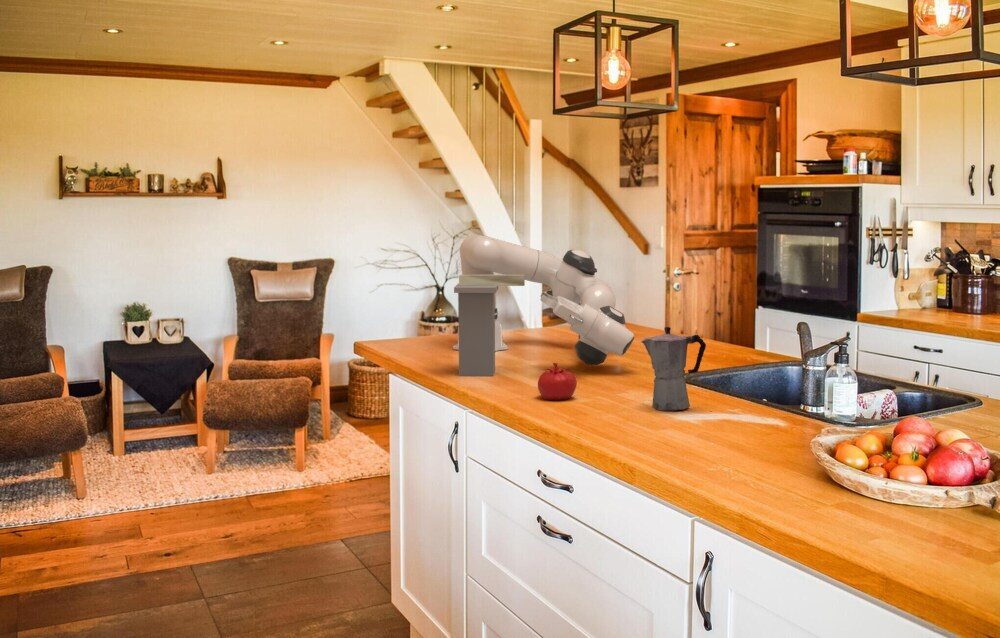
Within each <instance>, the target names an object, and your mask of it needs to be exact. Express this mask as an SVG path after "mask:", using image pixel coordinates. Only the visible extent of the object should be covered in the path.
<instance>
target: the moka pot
mask: <svg viewBox="0 0 1000 638" xmlns="http://www.w3.org/2000/svg"><path fill="white" fill-rule="evenodd" d="M663 329H664V332H665V333H663V334H660V335H655V336H651V337H645V338H644V339H642V340H641V341H640V342H641V343H642V344H643V345H644V347H645V349H646V351H647V354H648V356H649V358H650V360H651V361H650V362H651V366H652V369H653V370H654V373H653V374H654V377H655V378H654V379H653V383H654V384H653V393H652V394H653V395H652V408H653V409H654V408H655V410H658V411H667V412H668V411H669V412H670V411H680V410H687V409H688V408H689V407H690V406H691V405H690V399H689V395H688V389H687V383H686V377H685V374H686V370H685V368H686V366H687V356H688V355H687V354H688V345H689V344H690V345H691V344H694V343H699V345H700V346H699V350H698V353H697V357H696V362H695V365H694V368H691V369H688V370H687V373H688V374H695V373H698V372H699V369H700V365H701V362H702V358H703V356H704V353H705V350H706V346H707V345H706V344H707V343H706V342H705V341H704V340H703V338H701V336H700V335H699V334H694V335H683V336H682V335H678V334H674V333H671V330H672V328H671V327H670V326H666V327H664V328H663Z"/></svg>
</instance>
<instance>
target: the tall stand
mask: <svg viewBox="0 0 1000 638" xmlns="http://www.w3.org/2000/svg"><path fill="white" fill-rule="evenodd" d="M498 290H499V286H459V282H458V283H457V284H456V285H455V286H454V287H453V293H454V294H457V300H458V301H457V303H458V304H457V305H458V308H457V309H458V310H457V311H458V318H457V319H458V320H457V321H458V326H459V350H458V376H459V377H494V375H495V371H496V351H495V293H496V294H497V291H498Z"/></svg>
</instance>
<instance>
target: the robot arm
mask: <svg viewBox="0 0 1000 638" xmlns="http://www.w3.org/2000/svg"><path fill="white" fill-rule="evenodd" d="M459 254H460V255H459V256H460V266H461V267H460V268H461V275H495V274H498V275H525V281H527V282H532V283H535V284H536V283H537V284H543V285H547V286H548V287H549V288H550V290H547V291H546V292H545V291H542V292H541V294H540V302H541V303H543V304H545V305H546V306H548V307H549V308H550V309H552V313H553V315H555V316H557V317H559V318H561V320H564V321H566V324H568V325H570V328H569V330H570V331H572V332H573V333H575V334H577V335H578V340H577V341H576V343H575V345H574V350H575V353H576V356H577V358H578V359H580V361H582V362H583V363H585V364H587V365H589V366H597V365H600V364H603V363H605V360H606V359H607V356H608V354H609V353H611V354H613V355H617V356H621V357H622V356H624V355H625V354H626V353H627V351H628V350H629V348H630V346H631V345H632V344H633V342H634V341H635V334H634V333H633V332H632V331H630V329H628V328H627V326H626V319H625V314H624V313H623V312H621V311H619V310H617V309H616V304H617V303H616V302H617V300H616V295H615V294H614V291H613V290H612V288H611V286H610V285H609V284H608V283H607V282H605V281H604V280H602V279H599V278H597V277H596V276H595V274H596V273H598V268H596V265H595V261H594V259H593V257H592V256H591V255H589V254H588V253H587V252H585V251H584V250H580V249H570V250H567V251H566V253H565V254H564V255H563V257H562V260H561V258H559V257H557V256H555V255H553V254H550V253H547V252H545V251H542V250H538V249H534V248H531V247H527V246H524V245H519V244H516V243H512V242H509V241H505V240H502V239H498V238H494V237H491V236H486V235H480V234H472V235H471V234H470V235H469V236H467V237H466V238H465V239H463V240H462V241H461V243H460V246H459ZM494 273H495V274H494ZM498 314H499V312H498V308H497V292H496V293H495V352H498V351H504V350H508V349H509V347H508V345H507V344H506V343H505V342H504V341H503V338H504V336H503V330H502V329H503V328H502V324H501V322H499V321H498V318H499V317H498ZM457 327H458V329H457V331H458V332H457V343H456V344H454V345H453V346H452V350H456V351H457V350H458V351H459V325H458V326H457Z"/></svg>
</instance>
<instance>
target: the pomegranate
mask: <svg viewBox="0 0 1000 638" xmlns="http://www.w3.org/2000/svg"><path fill="white" fill-rule="evenodd" d="M552 364H553V367H554V368H552V367H549V368H546V369H544V371H545V372H542V374H541V375H540V376H539V378H538V381H537V389H538V393H539V394H540V396H541V397H542V398H543V399H545V400H547V401H560V400H561V401H562V400H569V399H570V398H572V396H573V395H574V393H575V392H576V390H577V384H578V379H576V376H575V375H574V374H573V373H572V372H571V369H568V368H563V367H562V366H561V367H559V368H558V362H553V363H552ZM567 370H568V371H567Z"/></svg>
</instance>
